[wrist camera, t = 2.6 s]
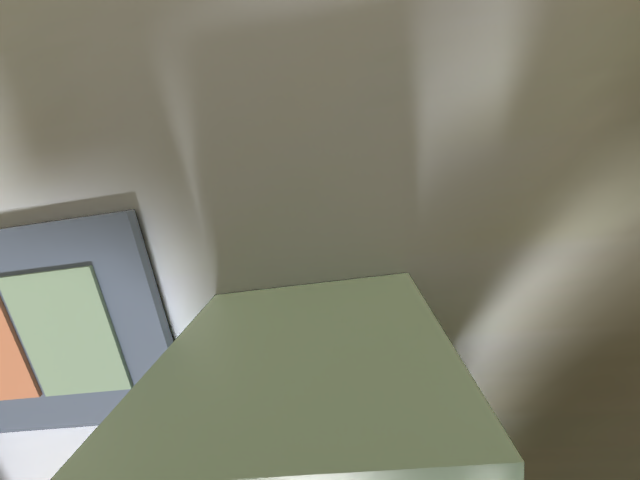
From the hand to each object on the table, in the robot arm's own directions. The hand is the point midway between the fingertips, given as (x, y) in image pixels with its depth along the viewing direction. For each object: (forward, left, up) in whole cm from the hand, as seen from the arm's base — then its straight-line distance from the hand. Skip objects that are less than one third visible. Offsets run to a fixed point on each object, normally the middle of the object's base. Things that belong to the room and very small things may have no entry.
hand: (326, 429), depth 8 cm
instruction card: (+3, +8, -1) cm, 9 cm away
